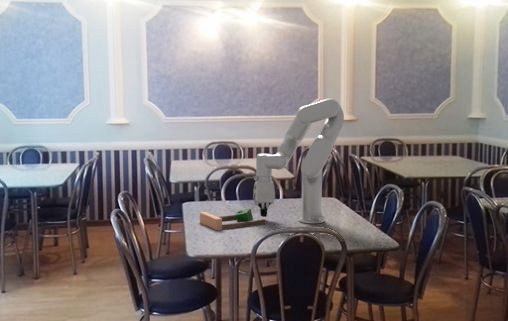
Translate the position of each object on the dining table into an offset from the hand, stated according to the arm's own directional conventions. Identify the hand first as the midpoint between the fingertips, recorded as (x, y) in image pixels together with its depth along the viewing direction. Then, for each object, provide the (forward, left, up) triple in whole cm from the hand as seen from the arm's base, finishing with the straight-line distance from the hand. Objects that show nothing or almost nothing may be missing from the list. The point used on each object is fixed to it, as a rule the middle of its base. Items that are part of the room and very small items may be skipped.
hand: (263, 216), depth 298 cm
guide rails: (0, +15, -2) cm, 16 cm away
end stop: (0, +28, -2) cm, 29 cm away
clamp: (0, +11, -2) cm, 11 cm away
